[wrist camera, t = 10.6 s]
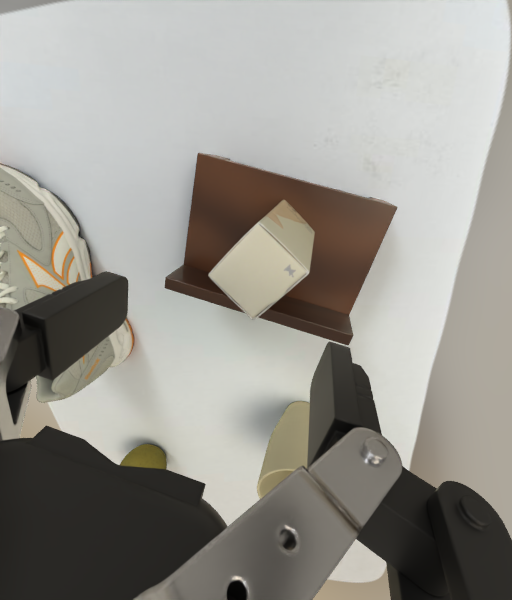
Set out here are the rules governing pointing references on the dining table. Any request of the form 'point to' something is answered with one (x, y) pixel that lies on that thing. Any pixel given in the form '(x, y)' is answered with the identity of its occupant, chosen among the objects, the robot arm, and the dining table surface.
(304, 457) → the mug
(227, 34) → the dining table surface
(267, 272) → the box
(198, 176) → the shelf
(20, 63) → the dining table surface
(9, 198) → the running shoe
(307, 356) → the dining table surface
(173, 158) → the dining table surface
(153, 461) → the apple
